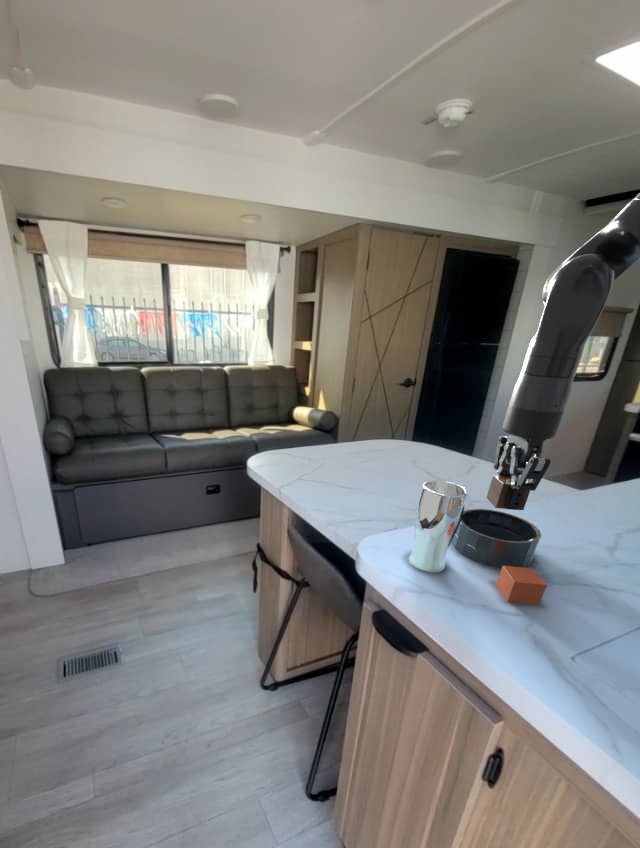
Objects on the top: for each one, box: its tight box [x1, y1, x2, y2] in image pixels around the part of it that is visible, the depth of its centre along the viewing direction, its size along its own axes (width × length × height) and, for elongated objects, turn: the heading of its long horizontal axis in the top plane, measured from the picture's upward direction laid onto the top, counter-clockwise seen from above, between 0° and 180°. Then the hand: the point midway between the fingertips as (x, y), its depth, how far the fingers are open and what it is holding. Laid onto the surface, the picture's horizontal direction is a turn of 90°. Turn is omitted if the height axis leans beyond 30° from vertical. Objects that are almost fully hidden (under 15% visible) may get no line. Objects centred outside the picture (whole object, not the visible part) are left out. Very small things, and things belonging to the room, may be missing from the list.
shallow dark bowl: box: [451, 508, 542, 569], centre depth 75 cm, size 13×13×6 cm
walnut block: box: [486, 474, 531, 511], centre depth 71 cm, size 4×4×4 cm
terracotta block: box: [495, 566, 548, 606], centre depth 63 cm, size 4×4×4 cm
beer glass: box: [408, 480, 468, 573], centre depth 68 cm, size 7×7×15 cm
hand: (504, 502), depth 71 cm, fingers closed on walnut block, 4 cm apart
